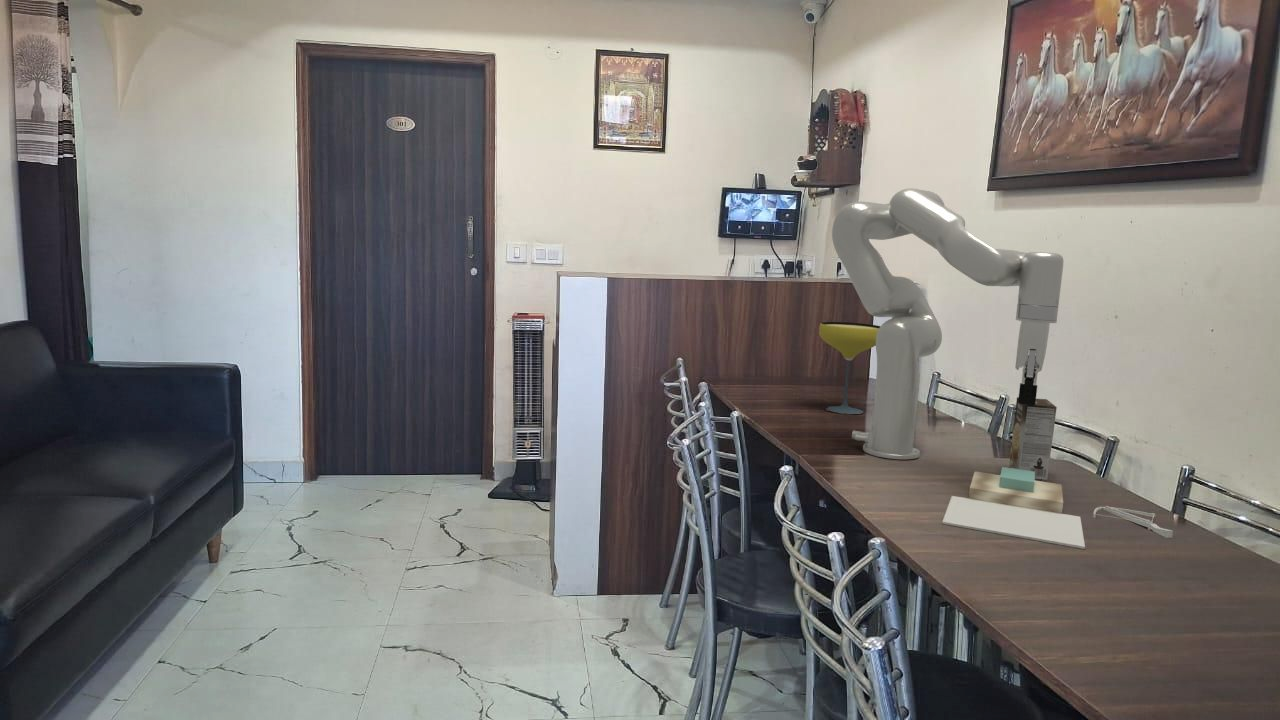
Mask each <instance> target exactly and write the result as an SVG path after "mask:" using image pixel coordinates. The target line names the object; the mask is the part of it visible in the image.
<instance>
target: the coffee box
mask: <svg viewBox="0 0 1280 720" xmlns="http://www.w3.org/2000/svg"><path fill="white" fill-rule="evenodd" d="M1018 398H1019V396H1017V397H1016V402H1015V403H1016V404H1015V411H1014V412H1015V413H1014V419H1013V420H1014V421H1013V429H1012V439H1011V445H1010V453H1009V462H1008V464H1009V465H1008V468H1013V469H1020V470H1027V471H1034V472H1035V480H1041V479H1042V481H1048V476H1049V470H1050V469H1049V468H1050V463H1051V462H1050V461H1051V453H1052V447H1053V446H1052V445H1053V439H1054V438H1053V437H1054V430H1055V423H1056V414H1057V409H1058V408H1057V406H1056V405H1055V404H1053V403H1052V402H1051V401H1050V400H1048V399H1047V398H1036V402H1035V405H1026V404H1019V403H1018Z"/></svg>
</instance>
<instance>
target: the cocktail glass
mask: <svg viewBox="0 0 1280 720" xmlns="http://www.w3.org/2000/svg"><path fill="white" fill-rule="evenodd" d="M880 327H881V325H877V324H870V323H861V322H860V323H859V322H849V321H848V322H847V321H846V322H845V321H823V322H820V324H819V326H818V335H819V337H820V338H821V339H822V340H823V342H825V343H826V344H828V345H830V346H831V347H833V349H836V350H837V351H839V352H840V353H841V355H842V357H843V358H844V359H845V360H846V361H847V363H846V365H847V366H846V374H845V386H844V394H843V399H842V403H841V405H837V406H836V405H833V406H827V407H828V409H829V410H831V411H833V412H839V413H847V414H861V413H863V412H864V411H863V410H862V411H861V409H859V408H855V407H851V406H849V405H848V386H849V374H850V364H851V363H850V362H851V361H853V360H854V358H855V357H856V356H857V355H858V354H860V353H862V352H865V351H867V350H869V349H872V348H874V347H876V335H877V332H878V330H879V328H880ZM863 414H864V413H863ZM861 415H862V414H861Z"/></svg>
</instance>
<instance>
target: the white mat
mask: <svg viewBox="0 0 1280 720" xmlns="http://www.w3.org/2000/svg"><path fill="white" fill-rule="evenodd" d="M941 525H946V526H947V525H948V526H952V527H959V528H964V529H969V530H976V531H980V532H986V533H990V534H991V533H992V534H998V535H1004V536H1009V537H1014V538H1019V539H1026V540H1031V541H1037V542H1042V543H1049V544H1054V545H1061V546H1065V547H1069V548H1076V549H1081V550H1085V549H1086V545H1085V544H1086V543H1085V539H1084V538H1085V537H1084V532H1083V525H1082V519H1081V516H1078V515H1072V514H1068V513H1067V514H1066V513H1062V514H1061V513H1055V512H1048V511H1042V510H1036V509H1030V508H1024V507H1018V506H1012V505H1005V504H999V503H993V502H987V501H981V500H975V499H969V497H962V496H954V495H951V497H950V500H949V503H948V505H947V507H946V511H945V513H944V516H943V519H942V523H941Z"/></svg>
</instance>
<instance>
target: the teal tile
mask: <svg viewBox="0 0 1280 720" xmlns="http://www.w3.org/2000/svg"><path fill="white" fill-rule="evenodd" d="M1000 475H1001V476H1000V484H999V487H1001V488H1007V489H1014V490H1020V491H1027V492H1033V491H1034V483H1035V481H1036V479H1035V472H1034V471H1027V470H1020V469H1013V468H1010V467H1005V466H1002V467H1001V471H1000Z"/></svg>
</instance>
